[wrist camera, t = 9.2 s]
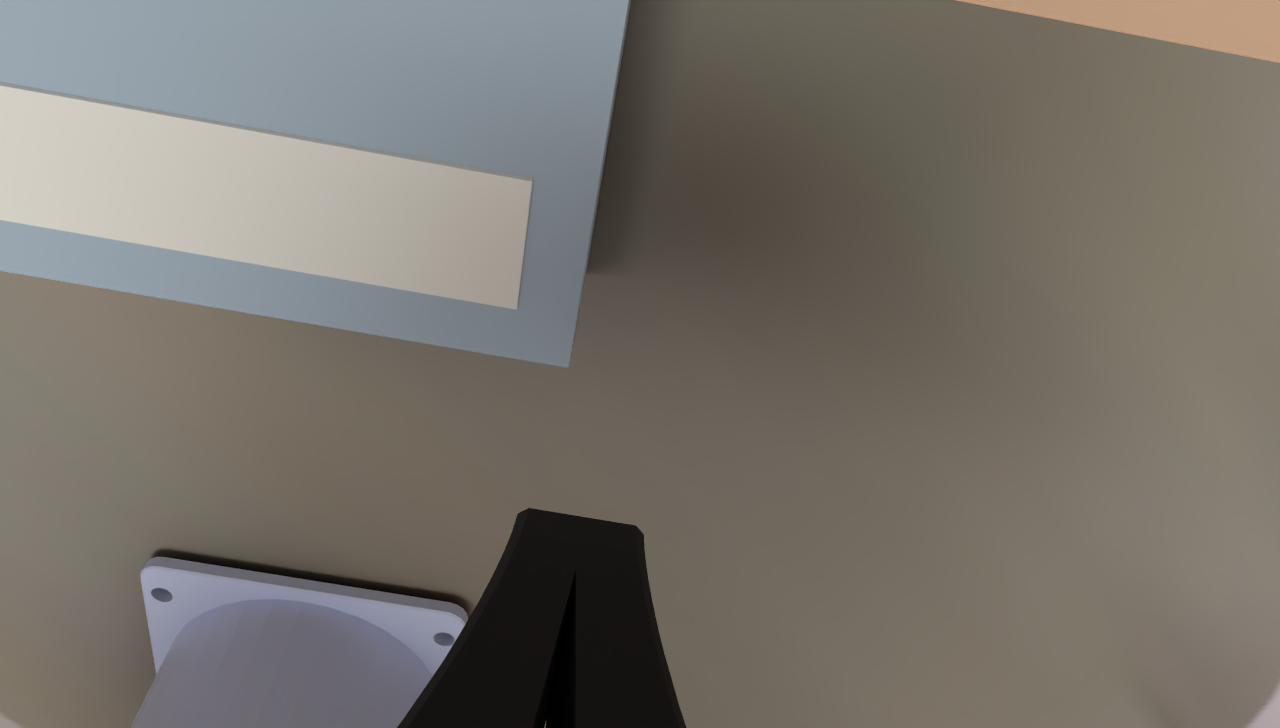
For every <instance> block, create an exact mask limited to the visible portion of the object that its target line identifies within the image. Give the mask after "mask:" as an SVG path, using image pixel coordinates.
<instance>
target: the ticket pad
mask: <svg viewBox="0 0 1280 728" xmlns="http://www.w3.org/2000/svg"><path fill="white" fill-rule="evenodd" d="M630 5H631V0H0V271H5V272H11V273H16V274H22V275H28V276H34V277H40V278H46V279H51V280H57V281H63V282H69V283H75V284H81V285H86V286H92V287H98V288H104V289H110V290H116V291H121V292H127V293H133V294H139V295H145V296H151V297H156V298H162V299H168V300H174V301H180V302H186V303H191V304H197V305H203V306H209V307H215V308H221V309H226V310H232V311H238V312H244V313H250V314H256V315H261V316H267V317H273V318H279V319H285V320H291V321H296V322H302V323H308V324H314V325H320V326H326V327H331V328H337V329H343V330H349V331H355V332H361V333H366V334H372V335H378V336H384V337H390V338H396V339H401V340H407V341H413V342H419V343H425V344H431V345H436V346H442V347H448V348H454V349H460V350H466V351H471V352H477V353H483V354H489V355H495V356H501V357H506V358H512V359H518V360H524V361H530V362H536V363H541V364H547V365H553V366H559V367H565V368H569V363H570V358H571V352H572V347H573V342H574V336H575V331H576V325H577V320H578V315H579V309H580V304H581V299H582V293H583V288H584V282H585V277H586V271H587V265H588V259H589V253H590V247H591V241H592V235H593V229H594V223H595V217H596V211H597V205H598V199H599V193H600V187H601V181H602V175H603V169H604V163H605V156H606V150H607V144H608V138H609V132H610V126H611V120H612V114H613V108H614V102H615V96H616V90H617V84H618V78H619V72H620V66H621V60H622V54H623V48H624V42H625V36H626V30H627V23H628V17H629V11H630Z"/></svg>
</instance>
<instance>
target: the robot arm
mask: <svg viewBox="0 0 1280 728" xmlns="http://www.w3.org/2000/svg"><path fill="white" fill-rule="evenodd" d="M140 580H141V586H142V592H143V598H144V604H145V610H146V616H147V622H148V628H149V634H150V640H151V646H152V653H153V659H154V665H155V671H156V677H155V679H154V681H153V683H152V685H151V687H150V689H149V691H148V693H147V695H146V697H145V699H144V701H143V703H142V705H141V707H140V709H139V711H138V713H137V715H136V717H135V719H134V721H133V723H132V725H131V727H130V728H544V726H545V722H546V728H686V726H685V722H684V719H683V716H682V713H681V710H680V707H679V704H678V700H677V697H676V693H675V690H674V686H673V683H672V679H671V676H670V672H669V669H668V665H667V662H666V658H665V655H664V651H663V647H662V643H661V639H660V635H659V631H658V626H657V621H656V617H655V612H654V607H653V603H652V598H651V592H650V587H649V581H648V574H647V568H646V559H645V550H644V535H643V533H642V532H641V531H640V530H639V529H638V527H637V526H635V525H629V524H623V523H617V522H610V521H604V520H598V519H592V518H586V517H580V516H574V515H568V514H562V513H556V512H550V511H543V510H537V509H531V508H528V509H526V510H524V511H522V512H520V513H518V515H517V518H516V521H515V525H514V528H513V531H512V534H511V536H510V539H509V541H508V543H507V546H506V548H505V551H504V553H503V555H502V557H501V560H500V562H499V564H498V566H497V568H496V570H495V572H494V574H493V576H492V578H491V580H490V582H489V584H488V585H487V587H486V589H485V591H484V593H483V595H482V597H481V599H480V601H479V602H478V604H477V606H476V608H475V609H474V611H473V613H472V614H471V616H470V618H469V619H468V616H467V613H466V612H465V610H464V609H463V608H462V607H460V606H458V605H457V604H454V603H450V602H445V601H439V600H432V599H426V598H420V597H413V596H407V595H401V594H395V593H388V592H382V591H376V590H369V589H363V588H357V587H350V586H344V585H338V584H332V583H325V582H319V581H313V580H306V579H300V578H294V577H287V576H281V575H275V574H269V573H262V572H256V571H250V570H243V569H237V568H231V567H224V566H218V565H212V564H206V563H199V562H193V561H187V560H180V559H174V558H168V557H154V558H151V559H149V560H148V561H147V562H146V563H145V565H144V567H143V569H142V571H141V574H140Z"/></svg>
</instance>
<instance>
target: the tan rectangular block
mask: <svg viewBox="0 0 1280 728" xmlns="http://www.w3.org/2000/svg"><path fill="white" fill-rule="evenodd" d="M957 1H962V2H967V3H972V4H977V5H983V6H988V7H993V8H998V9H1003V10H1009V11H1014V12H1019V13H1024V14H1029V15H1034V16H1040V17H1045V18H1050V19H1055V20H1060V21H1065V22H1071V23H1076V24H1081V25H1086V26H1091V27H1096V28H1102V29H1107V30H1112V31H1117V32H1122V33H1127V34H1133V35H1138V36H1143V37H1148V38H1153V39H1158V40H1164V41H1169V42H1174V43H1179V44H1184V45H1189V46H1195V47H1200V48H1205V49H1210V50H1215V51H1220V52H1226V53H1231V54H1236V55H1241V56H1246V57H1251V58H1257V59H1262V60H1267V61H1272V62H1277V63H1280V0H957Z"/></svg>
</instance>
